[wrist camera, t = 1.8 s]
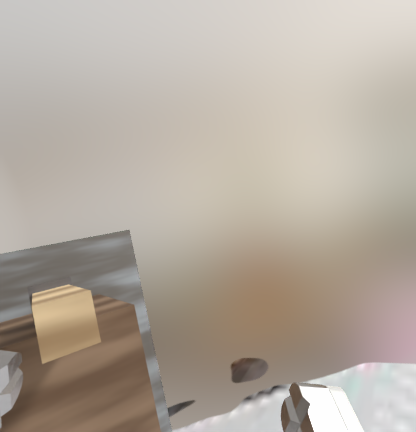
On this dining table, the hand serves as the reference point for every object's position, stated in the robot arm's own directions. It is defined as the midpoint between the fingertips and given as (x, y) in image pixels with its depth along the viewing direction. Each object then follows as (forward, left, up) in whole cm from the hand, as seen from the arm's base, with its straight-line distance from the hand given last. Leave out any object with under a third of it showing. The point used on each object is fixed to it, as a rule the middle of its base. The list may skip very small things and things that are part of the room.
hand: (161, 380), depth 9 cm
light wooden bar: (+9, -15, -1) cm, 18 cm away
